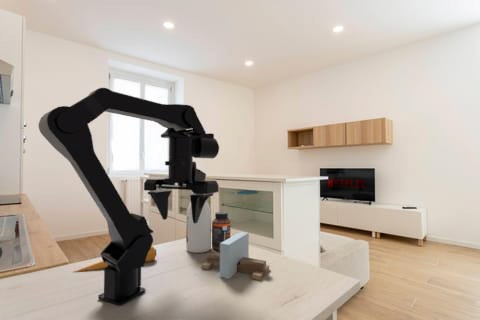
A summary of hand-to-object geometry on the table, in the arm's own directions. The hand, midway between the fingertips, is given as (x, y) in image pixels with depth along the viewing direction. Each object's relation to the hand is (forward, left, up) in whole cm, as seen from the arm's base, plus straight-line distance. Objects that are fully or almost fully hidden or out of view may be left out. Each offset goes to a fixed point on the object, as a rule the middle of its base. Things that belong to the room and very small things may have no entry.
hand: (179, 221), depth 63 cm
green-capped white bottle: (+18, +6, -13) cm, 23 cm away
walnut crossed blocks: (+9, -11, -13) cm, 19 cm away
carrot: (-2, +19, -13) cm, 23 cm away
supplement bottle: (+22, +1, -13) cm, 26 cm away
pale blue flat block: (+9, -11, -13) cm, 19 cm away
